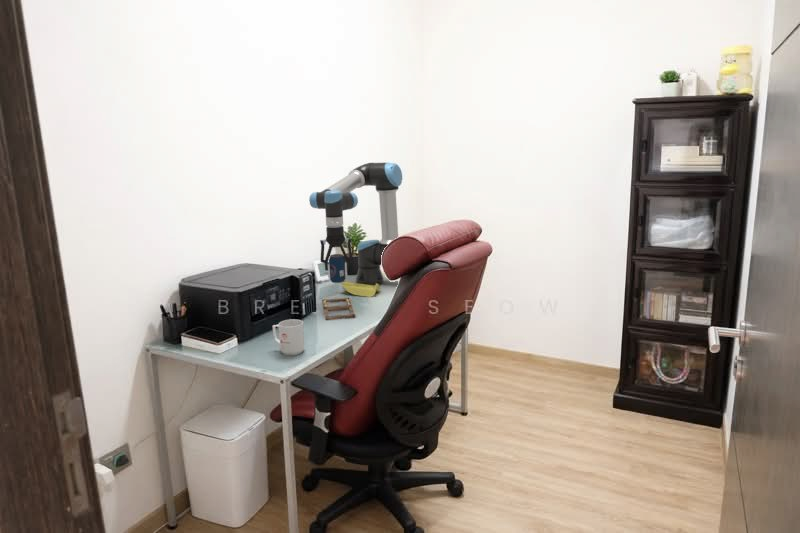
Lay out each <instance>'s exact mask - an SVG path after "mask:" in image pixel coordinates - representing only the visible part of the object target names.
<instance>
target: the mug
mask: <svg viewBox="0 0 800 533" xmlns="http://www.w3.org/2000/svg"><path fill="white" fill-rule="evenodd" d="M276 327H277V328H278V337H279V338H278V337H277V330H276ZM271 328H272V332H273V334H272V335H273V340H274V342H276V343H277V344H278V345H279V350H280V352H281V353H282V355H285V356H297V355H300V354H302V353H303V351H304V350H305V348H306V347H305V336H304V335H305V331H304V321H303V320H300V319H295V318H293V319H285V320H281V321H280V322H278V324H273V325H272V327H271Z"/></svg>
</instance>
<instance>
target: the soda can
mask: <svg viewBox="0 0 800 533" xmlns="http://www.w3.org/2000/svg"><path fill="white" fill-rule="evenodd" d="M345 261H346V260H345V257H344V255H343V253H341V254H340V253H337V254H336V253H335V254H330V257H329V260H328V263H329V265H330V278H329V281H331V283H332V284H341V283H342V282H344V281H346V277H345Z"/></svg>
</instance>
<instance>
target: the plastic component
mask: <svg viewBox="0 0 800 533" xmlns="http://www.w3.org/2000/svg"><path fill="white" fill-rule="evenodd" d="M340 284H341V285H342V287H343V288H344V290H345V292H346V293H350V294H351V295H354V296H360V297H365V298H366V297H368V298H372V297H374V296H375V294H376V293H380V291H381V284H376V285H365V284H357V283H356V282H350V281H346V280H345V281H344V282H342V283H340Z"/></svg>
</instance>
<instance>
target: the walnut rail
mask: <svg viewBox="0 0 800 533" xmlns="http://www.w3.org/2000/svg"><path fill="white" fill-rule="evenodd" d="M340 301H343V302H346V301H347V302H346V304H340V305H328V306H327V304H328V303H327V302H330V303H341V302H340ZM321 303H322V307H323V313H324V318H325V321H329V320H330V321H331V320H332V321H333V320H341V319H342V318H345V319H355V318H356V313H355V311H354V308H353V305H352V303H351V300H350V298H349V297H341V298H339V297H338V298H324V299H322V300H321ZM347 304H348V305H347ZM347 309H349V310H350V311H349V310H347ZM337 310H338V311H349V312H350V313H346V314H337V315H336V314H335V315H334V314H333V315H329V312H338V311H337Z"/></svg>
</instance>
